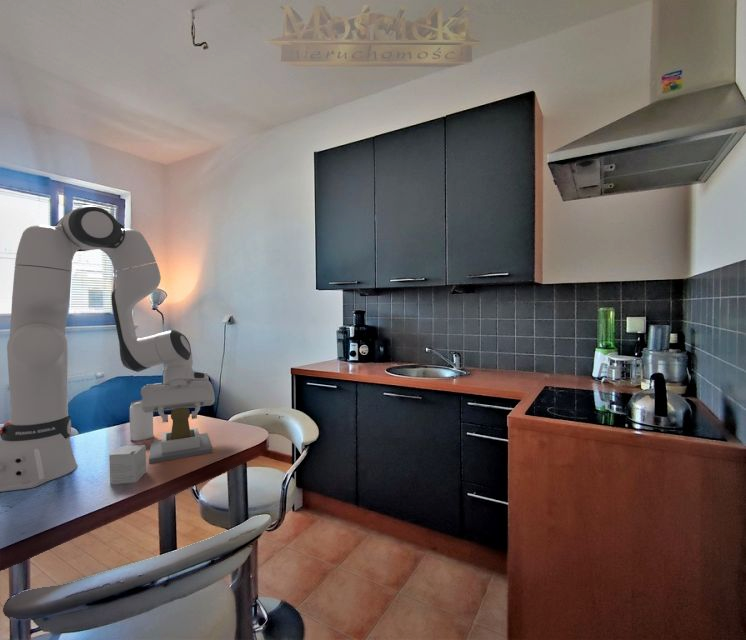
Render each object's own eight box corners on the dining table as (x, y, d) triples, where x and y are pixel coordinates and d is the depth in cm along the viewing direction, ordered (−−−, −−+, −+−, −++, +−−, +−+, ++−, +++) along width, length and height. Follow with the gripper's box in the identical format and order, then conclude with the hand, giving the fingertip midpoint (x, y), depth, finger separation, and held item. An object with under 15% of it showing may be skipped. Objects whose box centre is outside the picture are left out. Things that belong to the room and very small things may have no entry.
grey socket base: (148, 463, 104) (148, 448, 104) (151, 444, 118) (151, 431, 118) (211, 452, 112) (211, 438, 111) (207, 436, 126) (207, 423, 125)
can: (128, 437, 125) (127, 401, 124) (150, 433, 129) (150, 398, 129) (132, 442, 120) (131, 405, 120) (155, 438, 124) (154, 401, 124)
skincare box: (121, 474, 97) (120, 445, 97) (146, 472, 99) (146, 444, 98) (109, 485, 91) (108, 454, 91) (137, 482, 93) (136, 453, 92)
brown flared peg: (195, 441, 117) (195, 406, 117) (184, 448, 111) (184, 412, 111) (177, 439, 118) (177, 405, 117) (165, 447, 112) (164, 411, 111)
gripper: (140, 379, 115) (138, 419, 107) (213, 373, 125) (216, 409, 117) (141, 390, 119) (140, 430, 111) (211, 384, 129) (215, 420, 121)
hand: (180, 419), depth 114 cm, fingers open, 6 cm apart
